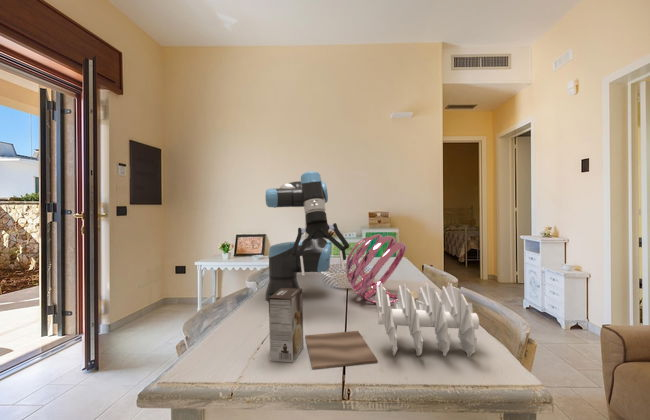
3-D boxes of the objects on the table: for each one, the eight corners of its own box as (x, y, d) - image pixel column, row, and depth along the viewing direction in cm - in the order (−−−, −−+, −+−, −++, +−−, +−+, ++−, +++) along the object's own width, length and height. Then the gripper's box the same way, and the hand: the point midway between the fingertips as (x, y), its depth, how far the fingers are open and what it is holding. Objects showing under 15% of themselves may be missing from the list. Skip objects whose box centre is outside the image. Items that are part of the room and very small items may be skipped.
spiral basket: (439, 252, 120) (384, 214, 132) (408, 282, 99) (346, 234, 111) (408, 297, 135) (361, 259, 146) (376, 331, 114) (324, 284, 126)
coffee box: (281, 344, 84) (280, 287, 84) (304, 346, 83) (302, 288, 83) (269, 361, 75) (268, 297, 75) (294, 363, 74) (292, 298, 74)
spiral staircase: (481, 376, 74) (378, 370, 75) (458, 321, 90) (373, 316, 91) (501, 321, 66) (385, 315, 67) (471, 271, 82) (378, 267, 83)
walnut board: (305, 337, 89) (305, 335, 89) (358, 332, 91) (358, 330, 91) (312, 369, 71) (312, 366, 71) (377, 362, 73) (377, 360, 73)
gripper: (279, 214, 104) (285, 277, 98) (350, 205, 106) (361, 266, 99) (281, 220, 111) (287, 278, 105) (348, 211, 113) (358, 269, 107)
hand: (323, 273), depth 102 cm, fingers open, 13 cm apart
